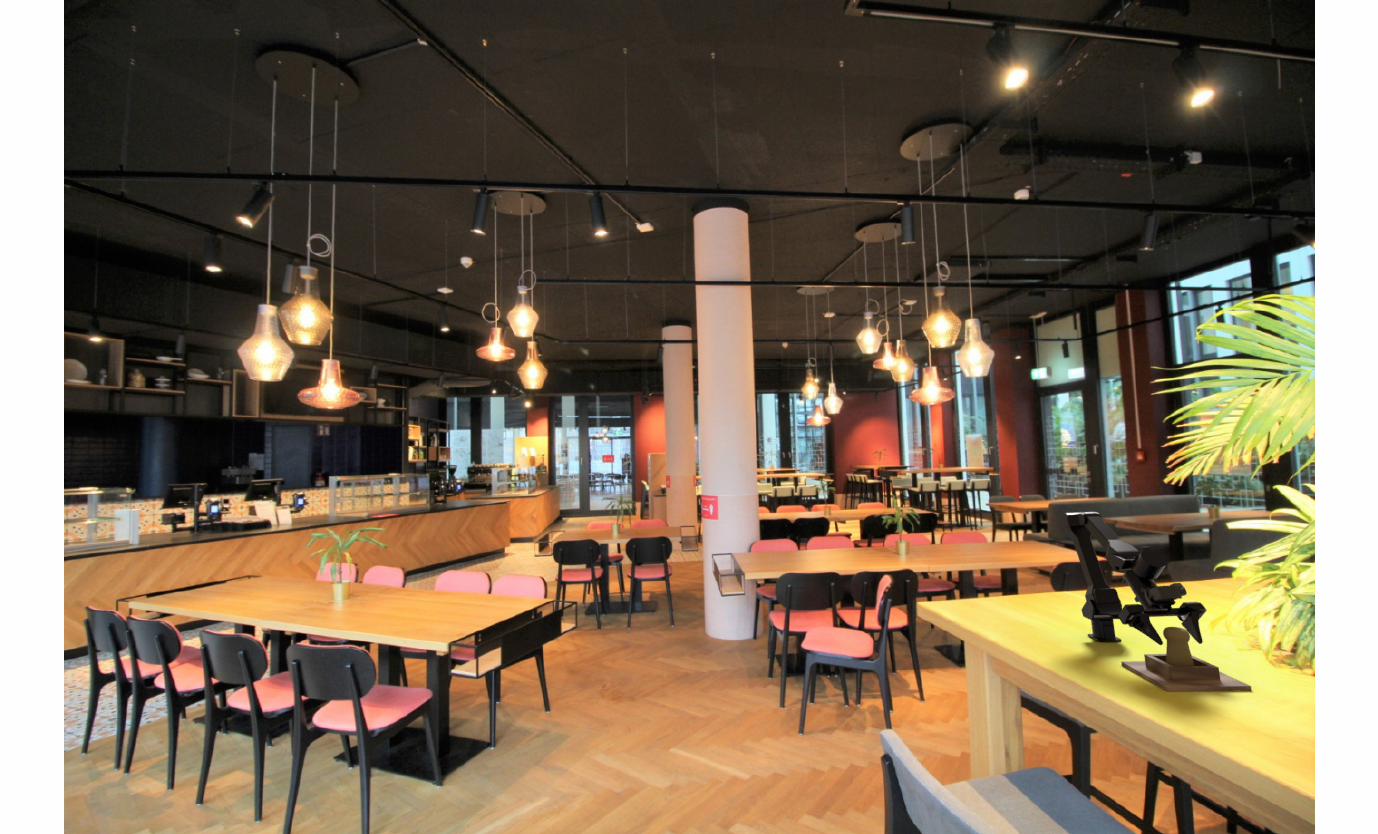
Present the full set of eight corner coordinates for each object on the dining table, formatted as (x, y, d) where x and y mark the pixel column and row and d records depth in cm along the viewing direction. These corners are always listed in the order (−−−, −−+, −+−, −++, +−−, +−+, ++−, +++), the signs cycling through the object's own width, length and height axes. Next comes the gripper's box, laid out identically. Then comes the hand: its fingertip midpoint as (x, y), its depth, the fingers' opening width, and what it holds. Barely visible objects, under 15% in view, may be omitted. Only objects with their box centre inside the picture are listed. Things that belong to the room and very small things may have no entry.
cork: (1202, 674, 143) (1197, 629, 144) (1186, 678, 141) (1180, 632, 142) (1176, 666, 149) (1170, 623, 150) (1159, 670, 147) (1154, 626, 148)
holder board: (1121, 665, 155) (1119, 649, 155) (1195, 663, 153) (1193, 648, 153) (1167, 691, 137) (1165, 674, 138) (1251, 690, 135) (1249, 672, 135)
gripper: (1119, 573, 152) (1154, 628, 140) (1195, 570, 150) (1237, 625, 138) (1105, 597, 159) (1137, 651, 147) (1177, 594, 157) (1215, 648, 145)
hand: (1181, 643), depth 144 cm, fingers open, 9 cm apart
